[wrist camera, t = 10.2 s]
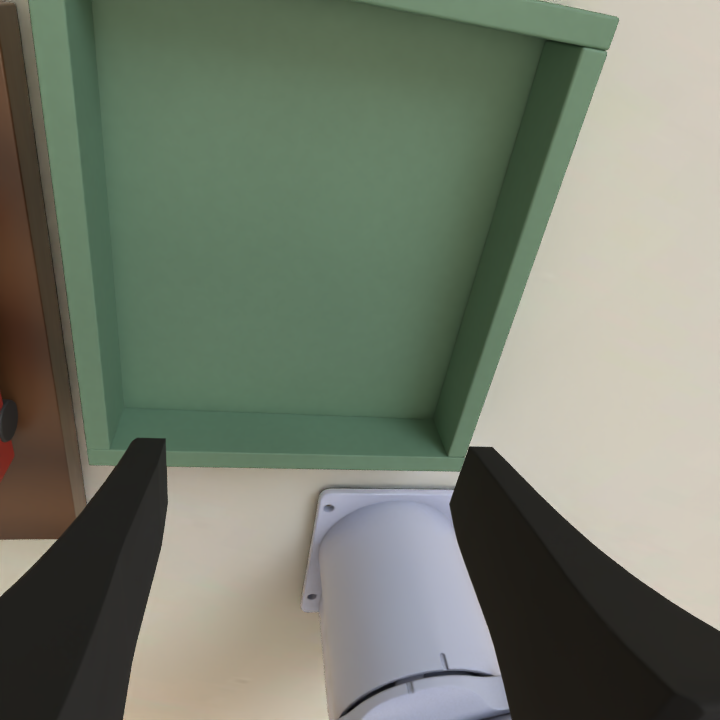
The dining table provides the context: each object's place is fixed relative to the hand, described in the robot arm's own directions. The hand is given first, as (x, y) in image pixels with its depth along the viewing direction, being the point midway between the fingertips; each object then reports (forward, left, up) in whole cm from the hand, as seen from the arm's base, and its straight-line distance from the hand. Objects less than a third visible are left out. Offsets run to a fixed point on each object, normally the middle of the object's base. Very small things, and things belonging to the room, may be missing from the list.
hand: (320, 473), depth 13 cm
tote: (+2, 0, -9) cm, 10 cm away
